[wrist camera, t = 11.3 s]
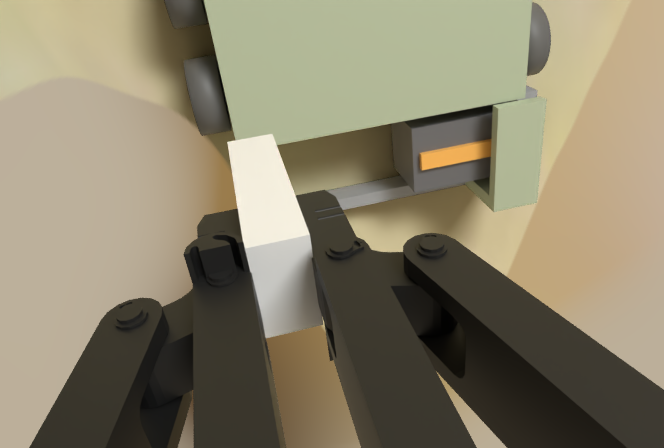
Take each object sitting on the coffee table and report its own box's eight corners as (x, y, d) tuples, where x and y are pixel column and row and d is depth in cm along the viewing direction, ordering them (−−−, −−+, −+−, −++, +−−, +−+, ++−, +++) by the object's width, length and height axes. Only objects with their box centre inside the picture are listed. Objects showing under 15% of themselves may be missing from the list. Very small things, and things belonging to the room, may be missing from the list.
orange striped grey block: (393, 166, 43) (416, 195, 38) (390, 108, 41) (413, 131, 36) (484, 148, 44) (517, 174, 39) (486, 90, 42) (521, 110, 37)
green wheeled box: (228, 221, 43) (231, 268, 37) (155, -63, 32) (144, -62, 26) (506, 164, 46) (551, 199, 40) (521, -113, 35) (586, -122, 29)
